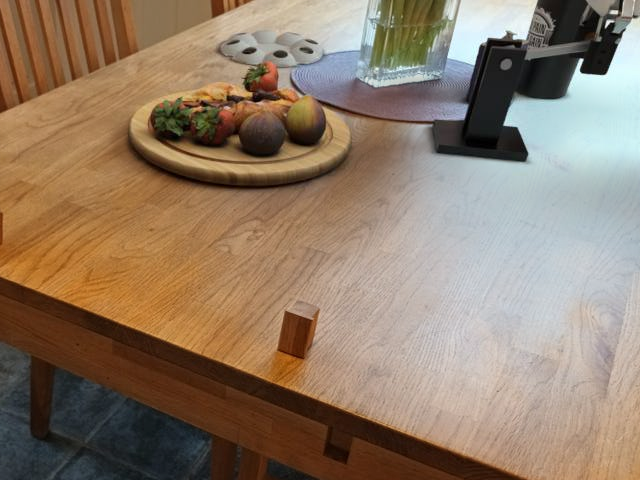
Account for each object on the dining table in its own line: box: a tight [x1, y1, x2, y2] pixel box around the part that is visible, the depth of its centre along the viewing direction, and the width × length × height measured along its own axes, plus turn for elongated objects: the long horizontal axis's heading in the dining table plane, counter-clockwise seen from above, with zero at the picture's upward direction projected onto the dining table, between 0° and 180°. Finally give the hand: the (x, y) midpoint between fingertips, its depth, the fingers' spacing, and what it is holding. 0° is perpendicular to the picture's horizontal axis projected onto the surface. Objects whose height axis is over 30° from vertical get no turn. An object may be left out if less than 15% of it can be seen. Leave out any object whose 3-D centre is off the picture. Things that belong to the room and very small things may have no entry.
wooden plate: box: [127, 62, 353, 187], centre depth 102 cm, size 32×32×8 cm
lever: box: [503, 32, 596, 60], centre depth 96 cm, size 13×6×2 cm, turn 77°
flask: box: [464, 29, 529, 104], centre depth 116 cm, size 9×3×11 cm, turn 111°
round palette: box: [219, 30, 323, 68], centre depth 138 cm, size 20×20×2 cm
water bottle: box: [514, 0, 588, 100], centre depth 116 cm, size 10×10×23 cm
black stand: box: [432, 37, 529, 162], centre depth 100 cm, size 12×10×14 cm
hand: (586, 64), depth 95 cm, fingers closed on lever, 6 cm apart
